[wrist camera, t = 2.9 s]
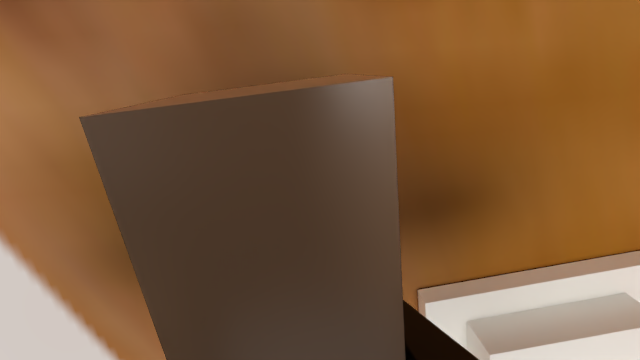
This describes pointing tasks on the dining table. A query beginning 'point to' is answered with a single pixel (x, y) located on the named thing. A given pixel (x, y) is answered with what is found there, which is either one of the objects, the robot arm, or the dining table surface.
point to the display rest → (545, 311)
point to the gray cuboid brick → (262, 218)
